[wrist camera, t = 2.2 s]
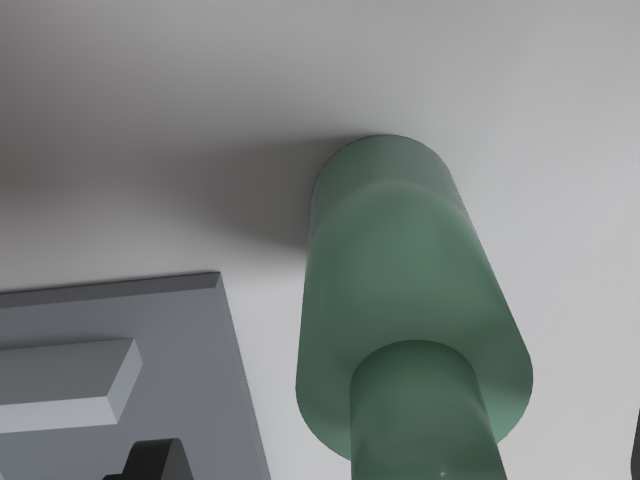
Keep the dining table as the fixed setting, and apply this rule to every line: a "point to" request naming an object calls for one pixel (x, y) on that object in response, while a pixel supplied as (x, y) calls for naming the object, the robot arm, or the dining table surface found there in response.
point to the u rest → (124, 380)
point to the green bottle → (405, 322)
